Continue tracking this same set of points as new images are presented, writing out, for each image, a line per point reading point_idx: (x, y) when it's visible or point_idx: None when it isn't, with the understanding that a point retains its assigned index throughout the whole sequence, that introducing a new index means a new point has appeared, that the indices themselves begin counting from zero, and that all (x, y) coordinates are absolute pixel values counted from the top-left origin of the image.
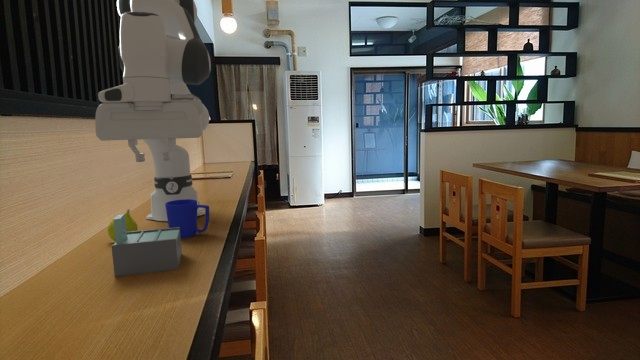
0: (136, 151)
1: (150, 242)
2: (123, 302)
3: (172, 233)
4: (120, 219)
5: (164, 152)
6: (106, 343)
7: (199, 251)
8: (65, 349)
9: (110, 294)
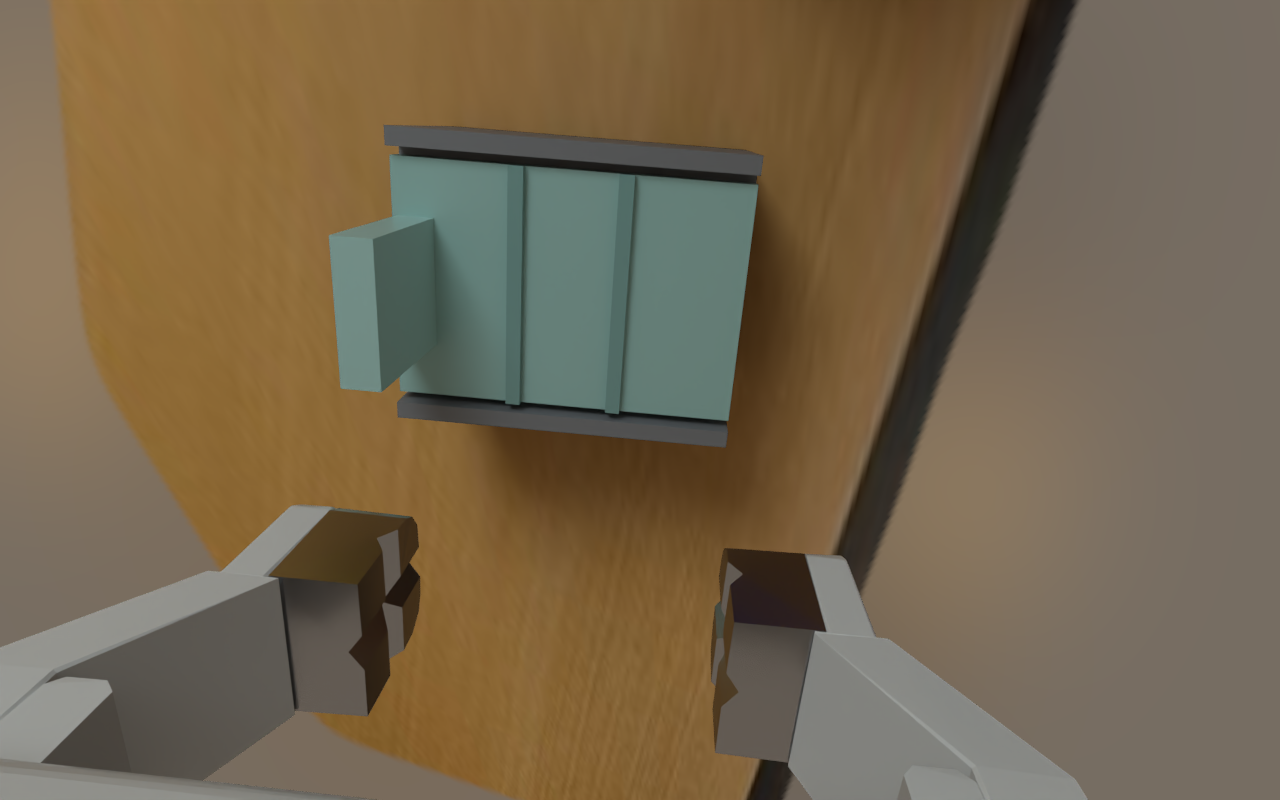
0: (244, 744)
1: (593, 433)
2: (535, 578)
3: (710, 274)
4: (384, 382)
5: (740, 730)
6: (539, 773)
7: (852, 81)
8: (451, 762)
9: (475, 497)
